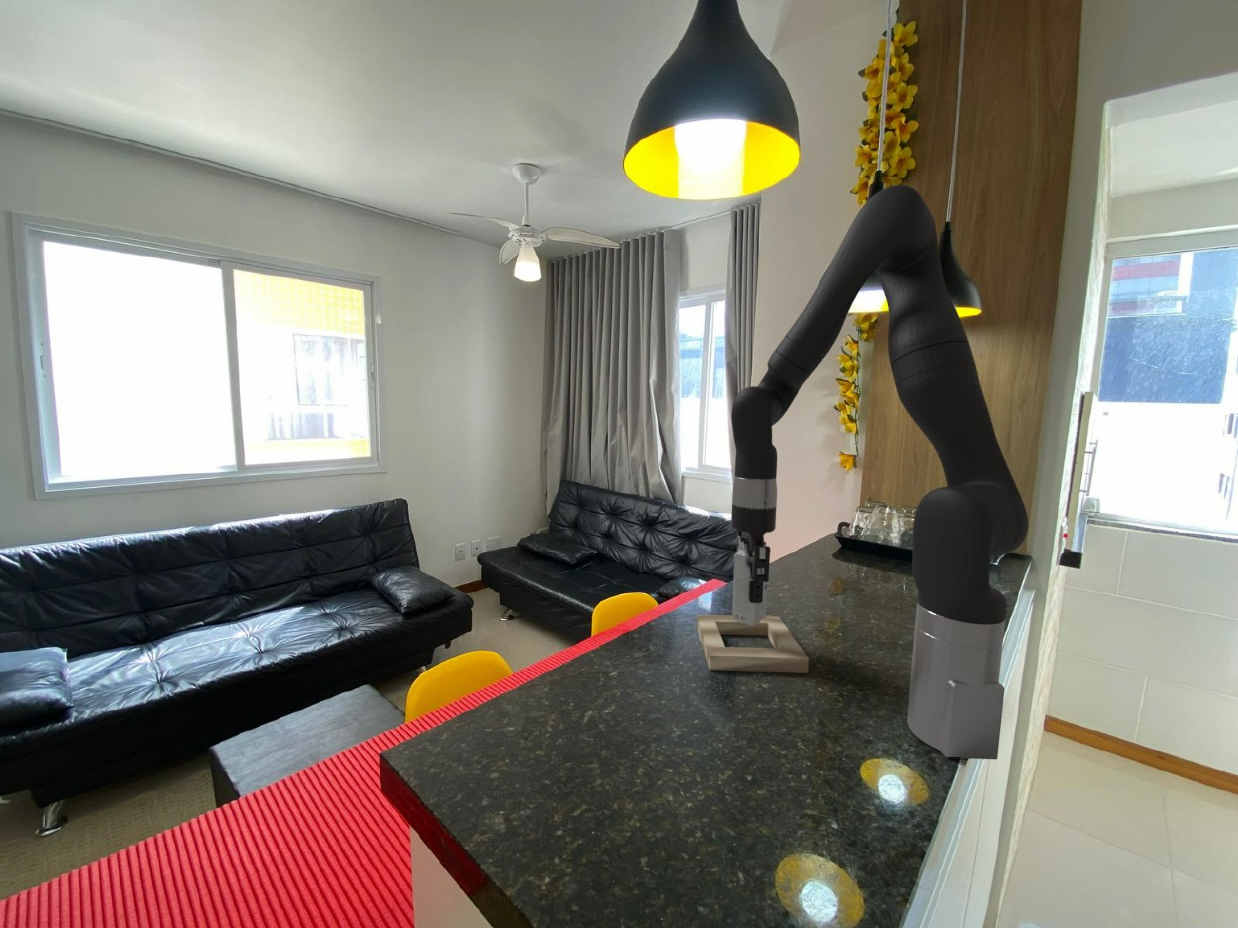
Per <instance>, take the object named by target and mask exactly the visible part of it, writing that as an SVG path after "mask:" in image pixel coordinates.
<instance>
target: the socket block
mask: <svg viewBox="0 0 1238 928" xmlns="http://www.w3.org/2000/svg"><path fill="white" fill-rule="evenodd" d="M732 615H733V614H731V615H730V614H729V615H728V614H727V615H726V614H725V615H724V614H696V629H697V632H698V633H697V634H698V636H699V639H700V644H701V646H702V650H703V653H704V655H705V659H706V662H707V666H708V669H709V671H732V672H733V671H734V672H735V671H736V672H764V673H765V672H768V673H772V672H773V673H799V674H801V673H804V674H806V673H807V674H808V673H809V661H810V657H808V655H807V654H806V652H805V651H804V649H803V648H802V647H801V645H800V644H799V642H798V641H797V640H796V638H795V636H793V635H792V633H791V631H790V630H789V629H788V627H787V626H786V625H785V623H784V622H783V620H782V619H781V618H780V617H779V616H770V615H769V616H768V615H767V616H765V617H764V618H763V619H762V620H761V621H760V622H759V623H757V624H756V625H755V626H751V625H747V624H744V623H740V622H737V621H735V620H733V619H732ZM721 635H731V636H733V635H734V636H736V635H737V636H739V635H740V636H767V638H768V640H769V641H770V643H771V645H773V647H769V648H768V647H740V646H739V647H738V646H737V647H736V646H735V647H734V646H733V647H729V646H725V644H724V641H723V638H722V636H721Z"/></svg>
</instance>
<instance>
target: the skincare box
mask: <svg viewBox="0 0 1238 928" xmlns="http://www.w3.org/2000/svg"><path fill="white" fill-rule="evenodd" d="M749 560H750V562H753V557H750V556H749ZM757 574H760V569H759V568H758V569H757ZM732 582H733V586H732V587H733V589H732V614H731V615H732V619H733V620H735V621H737V622H740V623H744V624H747V625H751V626H755V625H756V624H757V623H759V622H760V621H761V620H762V619H763V618H764V617H765V616H766V615H767V598H768V597H767V596H768V595H767V594H768V593H767V592H768V589H767V588H768V582H763V601H762V602H761V603H751V602H750V601H749V570H748V568H746V567H745V555H744V552H743V550H740V551H739V552H737V553H736V552H735V553H734V555H733V581H732Z"/></svg>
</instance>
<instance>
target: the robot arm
mask: <svg viewBox="0 0 1238 928" xmlns="http://www.w3.org/2000/svg"><path fill="white" fill-rule="evenodd" d="M938 241H939V240H938V233H937V227H936V222H935V219H934V217H933V214H932V212H931V211H930V209H929V207H928V205H927V203H926V201H925V200H924V199H923V197H922V195H921V194H920V193H919V192H918V191H917V190H916V189H915V188H914V187H912V186H909V185H904V184H900V185H898V184H897V185H892V186H888V187H885V188H883V189H881V190H879V191H877V193H875V194H873V195H872V196H871V197H870V198H868V200H866V202H865V203H864V204H863V205H862V207H861V209H859V211H858V212H857V214H856V216H855V217H854V219H853V220H852V222H851V224H850V226H849V228H848V230H847V232H846V233H845V236H844V238H843V239H842V241H841V244H840V245H839V247H838V249H837V251H836V253H835V255H834V256H833V258H832V260H831V262H830V264H829V265H828V267H827V269H826V271H825V273H824V275H823V276H822V278H821V280H820V281H819V283H818V285H817V287H816V288H815V290H814V292H813V294H812V296H810V299H809V300H808V302H807V304H806V305H805V307H804V309H803V311H802V312H801V313H800V315H799V316H798V317H797V319H796V320H795V322H794V323H793V325H792V326H791V328H790V329H789V330H788V331H787V333H786V334H785V336H784V337H783V339H782V340H781V342H780V343H779V344H778V345H777V347H776V348H775V350H773V353H771V356H770V357H769V359H768V362H767V370H766V372H765V373H764V375H763V377H762V379H761V380H760V382H759V383H758V385H757V386H755V385H754V386H748V387H745V388H742V390H740V391H738V393H737V395H736V396H735V397H734V400H733V402H732V406H731V414H730V415H731V416H730V417H731V419H730V420H731V429H732V433H733V443H734V447H735V460H734V461H735V462H734V479H733V485H732V494H731V519H730V520H731V521H730V525H731V528H732V529H734V530H735V531H736V552H735V553H737V552H739V551H740V550H743V552H744V555H745V567H746V568H748V570H749V601H750V602H751V603H761V602H762V601H763V582H767V583H768V582H769V580H770V579H769V578H770V577H769V576H770V563H771V562H770V560H771V559H770V558H771V547H770V546H767V542H766V541H765V537H764V536H765V534H768V533H769V534H770V533H772V532H774V531H775V530H776V527H777V526H776V525H777V523H776V522H777V521H776V520H777V508H778V507H777V505H778V504H777V503H778V485H777V484H778V483H777V482H778V481H777V473H778V451H777V447H775V445H773V444H774V442H773V426H774V425H776V424H777V423H778V422H779V421H781V419H783V417H784V415H785V414H786V413H787V412H788V410H789V408H790V407H791V406H792V404H793V403H794V400H795V399H796V397H797V395H798V394H799V392H800V390H801V388H802V386H803V385H804V383H806V381H807V380H808V379H809V378H810V376H811V375H812V374H813V373H814V371H815V370H816V369H817V368H818V366H819V365H820V364H821V363H822V362H823V360H824V358H826V356H827V354H828V353H829V352H830V351H831V349H832V347H833V346H834V344H835V342H836V341H837V340H838V339H837V338H838V337H839V335H840V333H841V331H842V328H843V325H844V324H845V321H846V319H847V316H848V314H849V312H850V309H851V307H852V305H853V303H854V301H855V299H857V296H858V295H859V292H860V291H861V289H862V288H863V286H864V285H865V283H866V282H867V280H868V279H869V278H870V277H871V275H873V273H874V272H875V273H876V275H877V278H878V280H879V282H880V284H881V288H882V290H883V294H884V296H885V299H886V303H887V307H888V334H887V351H888V360H889V365H890V370H891V372H892V377H893V382H894V385H895V389H896V392H897V395H898V398H899V400H900V402H901V404H902V406H903V408H904V409H905V410H906V411H905V412H907V414H908V415H909V417H910V418H911V419H912V420H913V422H914V423H915V424H916V425H917V427H918V428H919V429H920V431H921V432H922V433H923V434H924V436H925V437H926V438H927V439H928V441H929V442H930V444H931V445H932V446H933V448H934V450H935V451H936V453H937V456H938V458H939V461H940V462H941V467H942V469H943V472H944V476H945V480H946V484H947V486H942V487H938V488H935V489H932V490H930V491H929V492H928V493H926V494H925V495H924V496H923V497H922V498H921V500H920V501H919V502H918V505H917V507H916V510H915V513H914V519H913V528H912V560H911V561H912V564H911V568H912V569H911V571H912V572H911V573H912V578H913V582H914V584H915V587H916V591H917V599H916V600H917V601H916V610H915V611H916V613H915V623H914V634H913V647H912V657H911V670H910V671H911V672H910V679H909V680H910V681H909V682H910V683H909V694H908V706H907V707H908V709H907V719H906V722H907V726H908V728H909V730H910V732H911V733H913V735H914V736H916V738H918V739H919V740H921V741H922V742H923V743H925V744H927V745H928V746H930V747H932V748H933V749H935V750H938V751H940V752H941V753H942V754H943V755H944V757H946V758H948V757H962V758H961V759H971V760H973V759H974V760H975V759H976V760H998V755H999V744H1000V736H1001V725H1002V718H1003V717H1002V715H1003V706H1004V699H1005V687H1004V686H1003V685H1002V684H1001V683H1000V674H1001V665H1002V664H1001V662H1002V655H1003V653H1002V652H1003V644H1004V643H1003V642H1004V635H1005V625H1006V617H1007V609H1008V608H1007V607H1008V606H1007V604H1008V602H1007V599H1006V596H1005V595H1004V594H1003V593H1002V592H1001V591H999V589H997V588H994V587H992V586H991V584H990V567H991V565H990V564H991V562H990V561H991V558H992V557H998V556H999V557H1000V556H1004V555H1008V554H1009V553H1013V552H1015V551H1016V550H1017V549H1019V547H1020V546H1022V544H1024V542H1025V540H1026V537H1027V534H1028V532H1029V531H1028V530H1029V518H1028V512H1027V509H1026V506H1025V504H1024V500H1023V498H1022V496H1021V493H1020V491H1019V489H1018V486H1017V484H1016V482H1015V480H1014V478H1013V476H1012V473H1011V471H1010V468H1009V467H1008V463H1007V462H1006V459H1005V457H1004V455H1003V452H1002V449H1001V448H1000V445H999V441H998V439H997V436H996V433H995V430H994V425H993V422H992V418H991V414H990V412H989V409H988V404H987V402H986V399H985V395H984V393H983V389H982V386H981V382H980V378H979V373H978V370H977V365H976V362H975V359H974V356H973V351H972V348H971V345H970V341H969V339H968V336H967V334H966V331H965V329H964V326H963V323H962V320H961V317H960V316H959V314H958V311H957V308H956V306H955V304H954V302H953V301H952V298H951V296H950V294H949V292H948V290H947V287H946V284H945V279H944V275H943V269H942V264H941V263H942V262H941V257H940V250H939V243H938ZM749 556H750V557H753V562H750V560H749ZM758 568H759V569H760V574H757V569H758Z"/></svg>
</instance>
